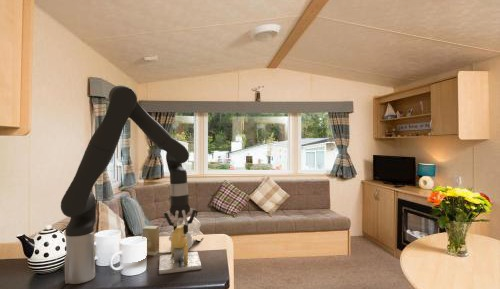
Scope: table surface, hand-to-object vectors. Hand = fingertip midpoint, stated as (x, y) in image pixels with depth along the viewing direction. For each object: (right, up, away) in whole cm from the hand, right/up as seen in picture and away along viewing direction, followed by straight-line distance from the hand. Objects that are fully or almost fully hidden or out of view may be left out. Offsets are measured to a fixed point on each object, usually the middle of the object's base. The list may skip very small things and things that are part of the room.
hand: (181, 233), depth 132 cm
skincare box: (-16, -12, +9) cm, 21 cm away
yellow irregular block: (0, -4, -4) cm, 5 cm away
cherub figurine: (-2, -11, +22) cm, 25 cm away
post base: (0, -11, -4) cm, 12 cm away
